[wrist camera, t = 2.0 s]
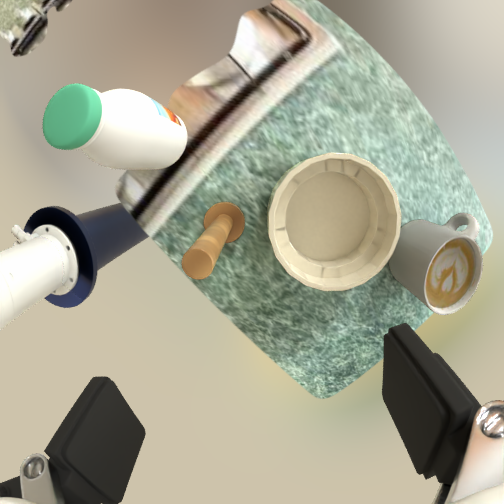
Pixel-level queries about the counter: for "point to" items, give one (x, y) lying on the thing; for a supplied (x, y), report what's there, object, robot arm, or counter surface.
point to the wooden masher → (213, 239)
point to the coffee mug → (439, 262)
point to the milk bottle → (114, 128)
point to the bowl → (333, 221)
